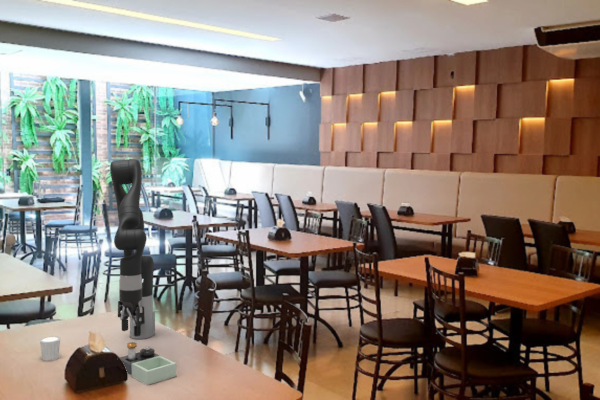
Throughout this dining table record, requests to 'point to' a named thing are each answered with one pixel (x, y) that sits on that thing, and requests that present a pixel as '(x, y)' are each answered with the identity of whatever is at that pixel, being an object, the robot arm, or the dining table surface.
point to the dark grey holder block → (138, 358)
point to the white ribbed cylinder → (50, 348)
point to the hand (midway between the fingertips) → (131, 333)
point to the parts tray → (153, 370)
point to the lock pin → (131, 351)
